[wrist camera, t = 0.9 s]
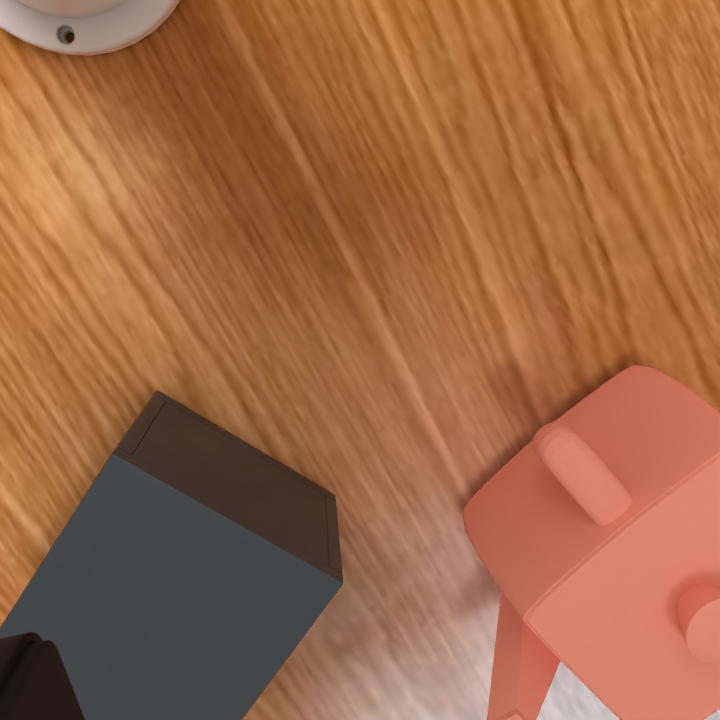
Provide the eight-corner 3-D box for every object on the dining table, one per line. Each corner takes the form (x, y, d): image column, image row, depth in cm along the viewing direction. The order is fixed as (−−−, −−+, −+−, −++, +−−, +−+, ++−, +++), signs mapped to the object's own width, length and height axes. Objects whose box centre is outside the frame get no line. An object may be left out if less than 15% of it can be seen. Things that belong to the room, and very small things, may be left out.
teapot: (588, 292, 40) (729, 348, 27) (781, 530, 45) (980, 677, 32) (340, 506, 42) (357, 657, 29) (551, 709, 48) (647, 916, 34)
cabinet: (211, 666, 45) (187, 793, 36) (36, 577, 42) (-40, 689, 33) (335, 495, 42) (343, 583, 33) (157, 389, 40) (111, 453, 30)
